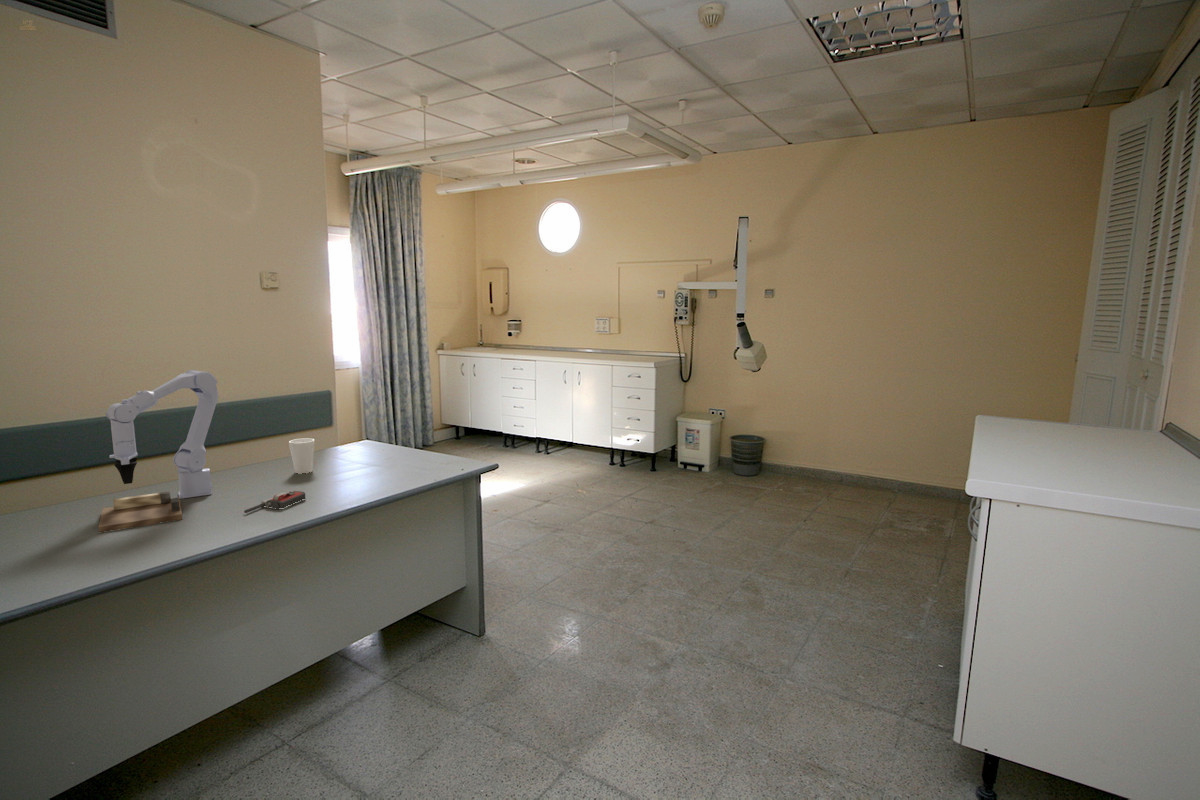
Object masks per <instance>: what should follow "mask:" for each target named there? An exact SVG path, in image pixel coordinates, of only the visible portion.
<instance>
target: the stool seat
mask: <svg viewBox="0 0 1200 800" xmlns="http://www.w3.org/2000/svg"><path fill="white" fill-rule="evenodd" d="M181 519H182V520H183V513H182V505H181V499H179V497H174V498H171V502H168V503H160V504H153V505H146V506H140V507H133V508H126V509H119V510H114V506H110V507H104V508H103V507H102V511H101V514H100V519H99V524H98V533H99V532H102V533H105V532H104V531H108V532H111V531H110V530H114V531H119V530H118V529H120V530H125V529H124V528H127V529H132V528H131V527H133V528H139V527H145V526H151V525H150V524H152V525H156V524H155V523H158V524H161V523H160V522H164V523H168V522H167V521H170V522H175V521H174V520H176V521H182V520H181ZM144 525H145V526H144ZM138 526H139V527H138Z"/></svg>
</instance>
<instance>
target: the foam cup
mask: <svg viewBox="0 0 1200 800" xmlns="http://www.w3.org/2000/svg"><path fill="white" fill-rule="evenodd" d="M315 446H316V442H315V438H309V437H308V438H307V437H306V438H305V437H304V438H303V437H302V438H295V439H292V440H289V441H288V448H289V451H290V455H291V459H292V460H291V461H292V465H293V468H294V469H293V470H294V473H295V474H296V473H298V475H303V474H302V473H306V474H310V473H312V472H313V465H314V456H315V455H314V454H315ZM309 472H310V473H309Z"/></svg>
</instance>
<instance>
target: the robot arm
mask: <svg viewBox="0 0 1200 800" xmlns="http://www.w3.org/2000/svg"><path fill="white" fill-rule="evenodd" d="M217 384H218V380H217V378H216V377H215V376H214V375H213V373H211V372H209V371H201V370H195V369H189V370H187V371H185V372H183V373H180V374H179V375H176V376H175V377H174V378H172V379H171V380H168V381H167V382H165V383H163V384H161V385H160V386H158V387H156V388H154V389H153V390H146V389H145V390H138V391H136V394H135V395H132V396H131V397H129V398H127V399H126V398H124V399H122V400H121V402H119V403H113V404H111V405H110V406H109V407H108V408H107V410H106V412H105V416H106V418H107V419H109V420H110V429H111V438H112V440H111V441H112V448H113V454H110V455H109V459H115V460H114V461H115V463H114V467H115V468H116V469H117V471H118V472H119V475H120V478H121V480H122V483H123V485H127V484H133V482H134V480H133V479H134V473H135V468H136V466H137V464H138V460H137V459H138V455H139V453H138V452H137V444H136V443H137V442H136V433H135V432H136V431H135V424H134V420H135V419H136V418H137V416H138V415H140V414H141V413H142V414H143V413H144V412H146V411H147V410H149V409H151V408H153V407H155V406H156V405H157V404H158V401H159V400H160V399H162V398H164V397H166V396H168V395H170V394H173V393H175V392H177V391H180V390H182V389H190V391H191V390H192V391H193V393H194V394H195V395H196V396H197V398H198V402H197V404H196V405H197V406H196V408H195V412H194V415H193V417H192V421H191V424H190V426H189V430H188V433H187V437H186V440H185V441H184V442H183V443H182V444H181V445H180V446H179V449H178V451H177V452H176V453H175V454H174V456H173V460H172V461H173V464H174V465H175V466H176V467H177V475H178V477H177V478H178V485H179V488H178V489H179V491H178V492H177V493H178V498H179V499H180V500H181V499H188V498H189V499H190V498H196V497H202V496H203V497H204V496H208V495H212V493H213V492H212V488H213V484H212V481H211V469H210V468H209V467H207V468H206V467H205V465H206V462H207V459H206V453H207V450H206V447H205V442H206V439H207V435H208V431H209V429H210V426H211V422H212V420H213V415H214V412H215V409H216V406H217V404H218V400H219V392H218V387H217ZM204 467H205V468H204Z"/></svg>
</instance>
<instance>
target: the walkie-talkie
mask: <svg viewBox="0 0 1200 800" xmlns="http://www.w3.org/2000/svg"><path fill="white" fill-rule="evenodd" d="M302 499H306V492H304V491H298V490H288V492H284V491H282V492H280V493H278V494H275V495H273V497H270V498H267V499H265V500H261V503H259V504H258V505H254V506H252V507H250V508H246V509H245V510H244V511H243V512H244V513H245V514H248V513H250V512H252V511H255V510H258V509H260V508H266V507H273V508H276V509H275V510H279V509H278V508H284V507H286V506H288V505H291V504H293V503H295V502H298V501H300V500H302ZM264 506H266V507H264Z"/></svg>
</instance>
